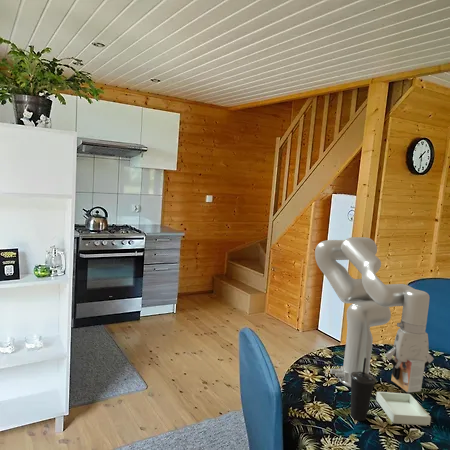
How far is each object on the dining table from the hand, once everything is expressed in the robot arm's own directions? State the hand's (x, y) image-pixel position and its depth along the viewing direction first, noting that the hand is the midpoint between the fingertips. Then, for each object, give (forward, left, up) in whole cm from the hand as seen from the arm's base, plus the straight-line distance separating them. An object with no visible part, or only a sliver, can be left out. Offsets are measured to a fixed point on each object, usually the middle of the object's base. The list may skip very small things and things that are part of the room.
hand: (406, 378), depth 134 cm
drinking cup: (-17, -4, -12) cm, 21 cm away
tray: (0, 0, -12) cm, 12 cm away
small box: (0, 0, -3) cm, 3 cm away
